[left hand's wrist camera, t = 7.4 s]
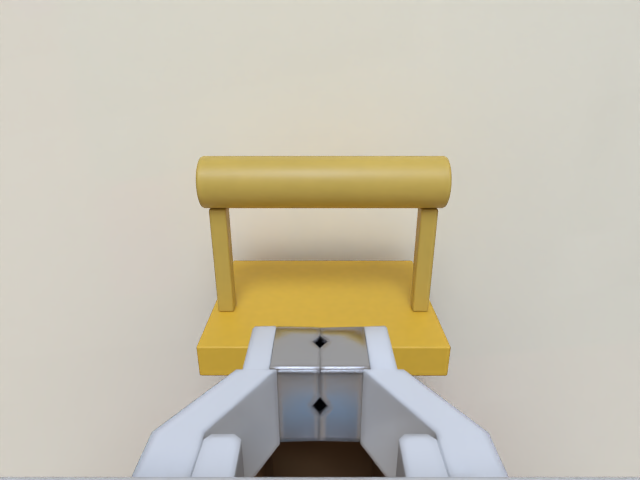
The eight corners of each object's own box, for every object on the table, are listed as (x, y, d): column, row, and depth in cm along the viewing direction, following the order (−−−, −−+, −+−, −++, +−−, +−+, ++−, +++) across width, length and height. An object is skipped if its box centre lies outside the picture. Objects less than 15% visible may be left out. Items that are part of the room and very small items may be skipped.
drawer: (223, 135, 20) (174, 174, 13) (422, 135, 20) (473, 174, 13) (253, 512, 28) (232, 649, 22) (391, 513, 28) (412, 650, 22)
